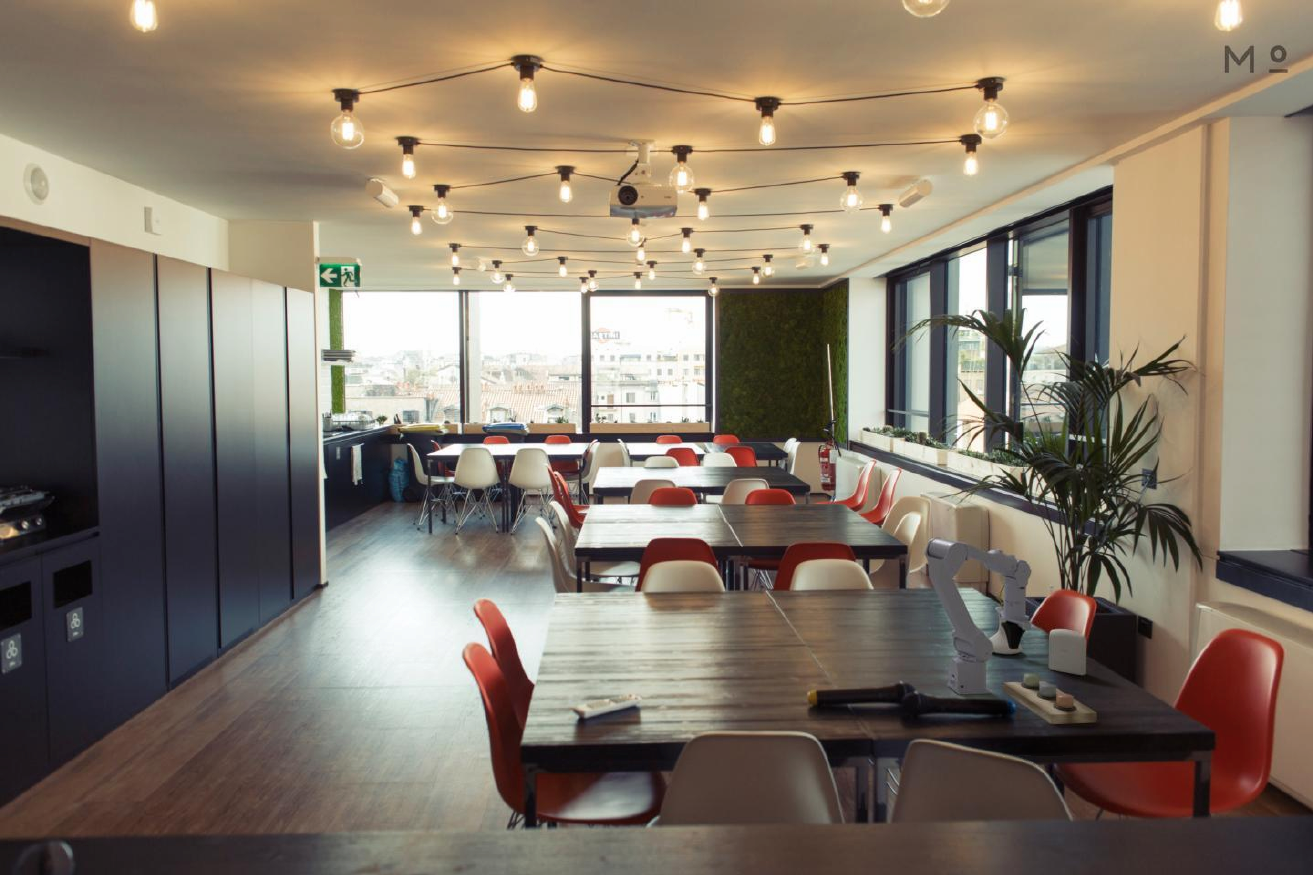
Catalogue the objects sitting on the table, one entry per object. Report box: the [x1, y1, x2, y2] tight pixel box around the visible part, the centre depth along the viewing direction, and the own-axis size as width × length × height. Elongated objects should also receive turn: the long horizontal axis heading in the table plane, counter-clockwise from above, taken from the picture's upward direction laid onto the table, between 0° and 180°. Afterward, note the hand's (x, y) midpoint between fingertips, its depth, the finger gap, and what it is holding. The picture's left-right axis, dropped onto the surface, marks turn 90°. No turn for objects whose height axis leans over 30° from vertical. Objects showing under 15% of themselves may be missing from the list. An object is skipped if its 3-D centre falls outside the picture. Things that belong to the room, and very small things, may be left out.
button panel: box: [1002, 680, 1098, 725], centre depth 233 cm, size 12×24×3 cm, turn 6°
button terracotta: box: [1056, 692, 1075, 708], centre depth 224 cm, size 4×4×2 cm
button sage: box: [1023, 672, 1041, 687], centre depth 240 cm, size 4×4×2 cm
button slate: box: [1039, 682, 1057, 697], centre depth 232 cm, size 4×4×2 cm
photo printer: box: [1048, 628, 1087, 676], centre depth 260 cm, size 10×4×12 cm, turn 47°
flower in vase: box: [988, 573, 1023, 655], centre depth 280 cm, size 13×11×25 cm
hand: (1013, 648), depth 250 cm, fingers closed
